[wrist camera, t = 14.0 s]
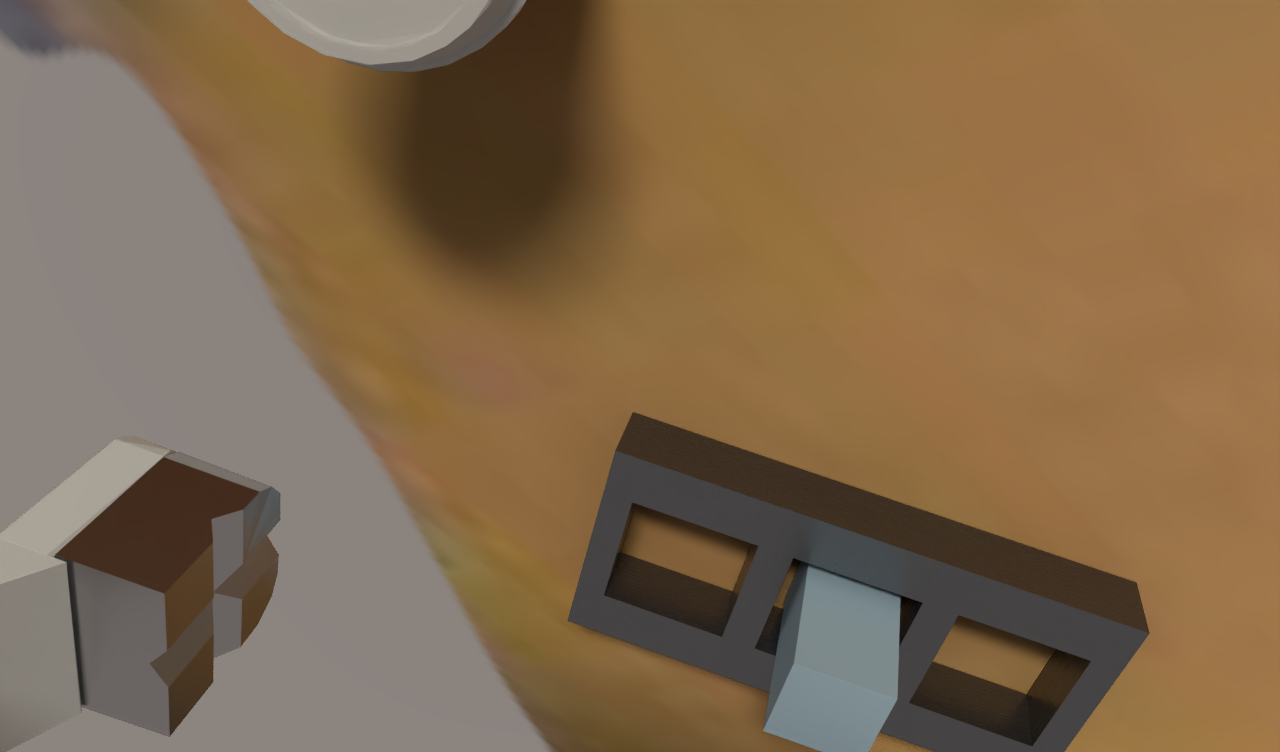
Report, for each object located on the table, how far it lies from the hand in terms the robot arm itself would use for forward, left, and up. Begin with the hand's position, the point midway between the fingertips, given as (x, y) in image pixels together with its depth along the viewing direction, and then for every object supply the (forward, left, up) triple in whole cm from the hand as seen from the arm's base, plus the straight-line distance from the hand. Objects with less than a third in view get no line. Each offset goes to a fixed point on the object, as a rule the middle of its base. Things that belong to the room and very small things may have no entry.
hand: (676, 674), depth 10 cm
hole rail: (-7, +23, -30) cm, 39 cm away
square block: (-7, +23, -30) cm, 39 cm away
